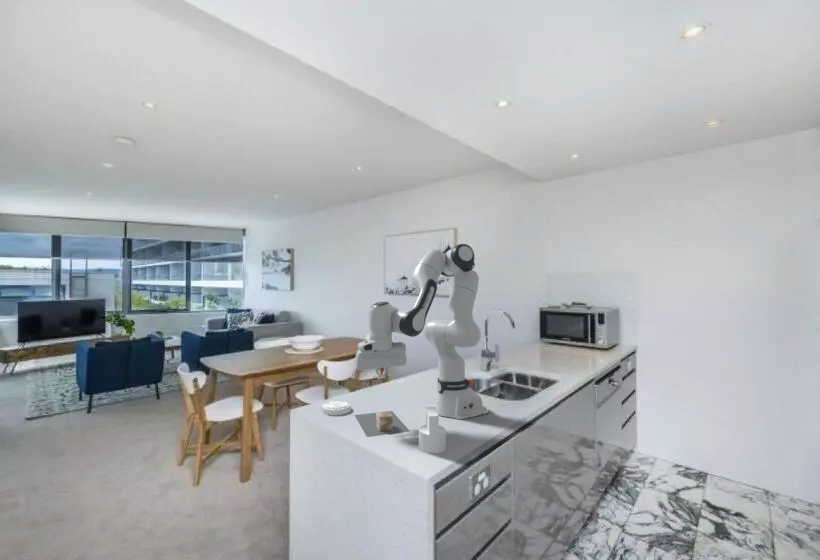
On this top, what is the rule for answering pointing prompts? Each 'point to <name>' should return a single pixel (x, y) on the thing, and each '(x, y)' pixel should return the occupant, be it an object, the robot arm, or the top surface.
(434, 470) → the top surface
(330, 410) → the white mooncake
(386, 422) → the maple block
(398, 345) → the robot arm
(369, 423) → the rubber mat
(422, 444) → the white cylinder with post
